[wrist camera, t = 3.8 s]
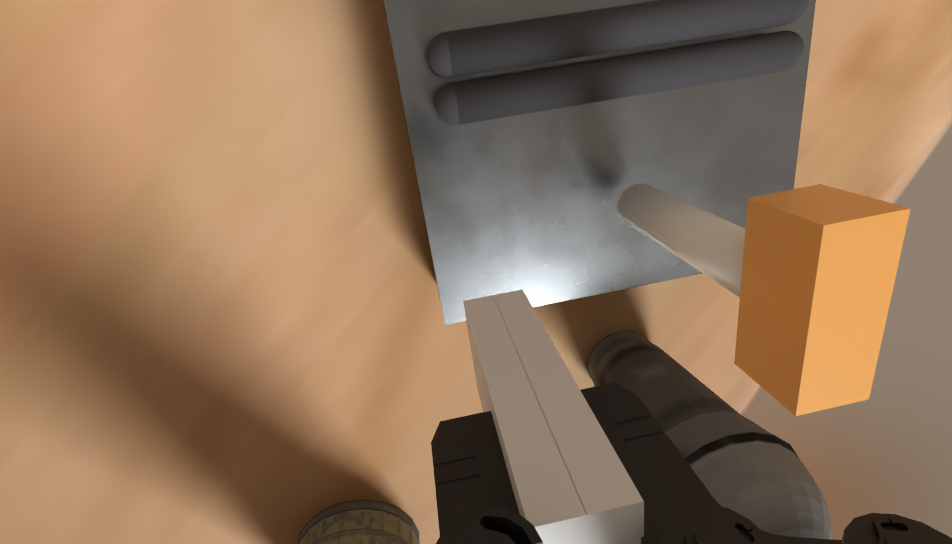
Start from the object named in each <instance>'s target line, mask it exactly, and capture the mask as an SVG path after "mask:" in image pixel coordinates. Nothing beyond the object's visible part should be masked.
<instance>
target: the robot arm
mask: <svg viewBox="0 0 952 544" xmlns="http://www.w3.org/2000/svg"><path fill="white" fill-rule="evenodd" d="M463 303H464V309H465V315H466V321H467V327H468V333H469V339H470V345H471V351H472V357H473V363H474V369H475V375H476V381H477V386H478V392H479V396H480V400H481V404H482V408H483V413H478V414H473V415H469V416H464V417H459V418H455V419H450V420H445V421H441V422H440V423H439V426H438V428H437V430H436V433H435V435H434V437H433V440H432V442H431V445H432V456H433V466H434V477H435V486H436V498H437V509H438V519H439V530H440V538H439V540H438V541H437V543H436V544H952V538H950V537H949V536H947V535H945V534H943V533H941V532H939V531H937V530H935V529H933V528H931V527H930V526H928V525H926V524H924V523H922V522H918V521H915V520H912V519H908V518H905V517H902V516H899V515H895V514H879V513H870V514H867V515H864V516H860V517H857V518H854V519H853V520H852V521H851V523H850V524H849V525H848V526H847V527H846V528H845V530H844V534H843V538H842V540H831V539H817V538H803V537H789V536H783V535H777V534H771V533H768V532H765V531H762V530H760V529H759V528H758V527H757V526H756V525H755V524H754V523H753V522H752V521H751V520H750V519H748V518H746V517H744V516H742V515H740V514H739V513H737V512H735V511H733V510H731V509H729V508H725V507H722V506H721V505H720V504H719V503H718V502H717V501H716V500H715V499H714V498H713V496H712V495H711V494H710V492H709V491H708V489H707V488H706V487H705V485H704V484H703V483H702V481H701V480H700V479H699V477H698V476H697V475H696V473H695V472H694V471H693V469H692V468H691V467H690V465H689V464H688V462H687V461H686V460H685V458H684V457H683V456H682V454H681V453H680V452H679V450H678V449H677V448H676V446H675V445H674V444H673V442H672V441H671V440H670V438H669V437H668V435H665V433H664V430H663V429H662V427H661V426H660V425H659V423H658V422H657V421H656V419H653V416H652V414H651V413H650V411H649V410H648V408H647V407H646V406H645V404H644V403H643V402H642V400H641V399H640V398H639V396H637V395H636V394H634V393H633V392H631V391H630V390H628V389H626V388H625V387H623V386H622V385H620V384H618V383H617V382H615V383H610V384H606V385H601V386H596V387H592V388H587V389H582V390H580V389H579V387H578V386H577V384H576V382H575V380H574V379H573V377H572V375H571V373H570V372H569V370H568V368H567V366H566V365H565V363H564V361H563V359H562V358H561V356H560V354H559V352H558V351H557V349H556V347H555V345H554V344H553V342H552V340H551V338H550V337H549V335H548V333H547V332H546V330H545V328H544V326H543V325H542V323H541V321H540V319H539V318H538V316H537V314H536V312H535V311H534V309H533V307H532V305H531V304H530V302H529V300H528V298H527V297H526V295H525V293H524V291H523V290H517V291H511V292H506V293H501V294H496V295H491V296H486V297H481V298H475V299H470V300H465V301H463Z"/></svg>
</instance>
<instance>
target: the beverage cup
mask: <svg viewBox="0 0 952 544" xmlns="http://www.w3.org/2000/svg"><path fill="white" fill-rule="evenodd" d="M588 371H589V374H590V377H591V379H592V381H593V383H594V386H595V387H596V386H601V385H606V384H610V383H615V382H617V383H618V384H620V385H622V386H623V387H625V388H626V389H628V390H630V391H631V392H633V393H634V394H636V395H637V396H639V398H640V399H641V400H642V402H643V403H644V404H645V406H646V407H647V408H648V410H649V411H650V413H651V414H652V416H653V419H656V421H657V422H658V423H659V425H660V426H661V427H662V429H663V430H664V433H665V435H668V437H669V438H670V440H671V441H672V442H673V444H674V445H675V446H676V448H677V449H678V450H679V452H680V453H681V454H682V456H683V457H684V458H685V460H686V461H687V462H688V464H689V465H690V467H691V468H692V469H693V471H694V472H695V473H696V475H697V476H698V477H699V479H700V480H701V481H702V483H703V484H704V485H705V487H706V488H707V489H708V491H709V492H710V494H711V495H712V496H713V498H714V499H715V500H716V501H717V502H718V503H719V504H720V505H721V506H722V507H725V508H729V509H731V510H733V511H735V512H737V513H739V514H740V515H742V516H744V517H746V518H748V519H750V520H751V521H752V522H753V523H754V524H755V525H756V526H757V527H758V528H759V529H760V530H762V531H765V532H768V533H771V534H777V535H783V536H789V537H803V538H817V539H831V540H832V538H831V525H830V515H829V511H828V507H827V504H826V501H825V499H824V497H823V495H822V492H821V491H820V488H819V487H818V485H817V484H816V482H815V481H814V479H813V478H812V476H811V474H810V473H809V472H808V470H807V469H806V467H805V466H804V464H803V463H802V462H801V461H800V459H799V458H798V456H797V455H796V453H795V451H794V450H793V448H792V447H791V445H790V444H788V443H787V442H785V441H783V440H782V439H779V438H778V437H776V436H775V435H772V434H771V433H769V432H767V431H766V430H765V429H763V428H762V427H760V426H758V425H757V424H755V423H754V422H752V421H750V420H749V419H747V418H745V417H744V416H742V415H740V414H739V413H738V412H737V411H735V410H734V409H733V408H732V407H731V406H729V405H728V404H727V403H726V402H725V401H723V400H722V399H721V398H720V397H718V396H717V395H716V394H715V393H714V392H712V391H711V390H710V389H709V388H708V387H706V386H705V385H704V384H703V383H702V382H700V381H699V380H698V379H697V378H695V377H694V376H693V375H692V374H691V373H689V372H688V371H687V370H686V369H685V368H683V367H682V366H681V365H680V364H679V363H677V362H676V361H675V360H674V359H672V358H671V357H670V356H669V355H668V354H666V353H665V352H664V351H663V350H662V349H660V348H659V347H657V346H656V345H654V344H652V343H651V342H649V341H648V340H647V339H646V338H645V337H644V336H642V335H640V334H639V333H636V332H631V331H624V332H617V333H615V334H612V335H610V336H607V337H606V338H605V339H603V340H602V341H601V342H599V343H598V344H597V346H596V347H595V348H594V349H593V351H592V353H591V355H590V358H589V361H588Z"/></svg>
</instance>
